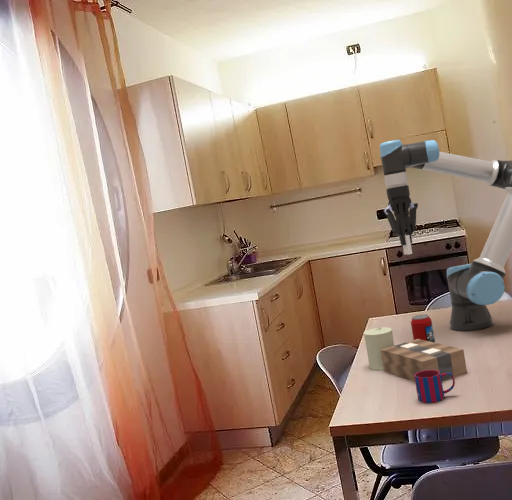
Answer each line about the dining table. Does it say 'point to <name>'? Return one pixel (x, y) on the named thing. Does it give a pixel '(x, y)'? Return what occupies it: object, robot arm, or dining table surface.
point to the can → (377, 345)
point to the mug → (431, 385)
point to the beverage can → (422, 328)
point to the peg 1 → (409, 346)
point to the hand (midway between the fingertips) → (408, 253)
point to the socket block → (423, 360)
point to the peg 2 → (431, 351)
